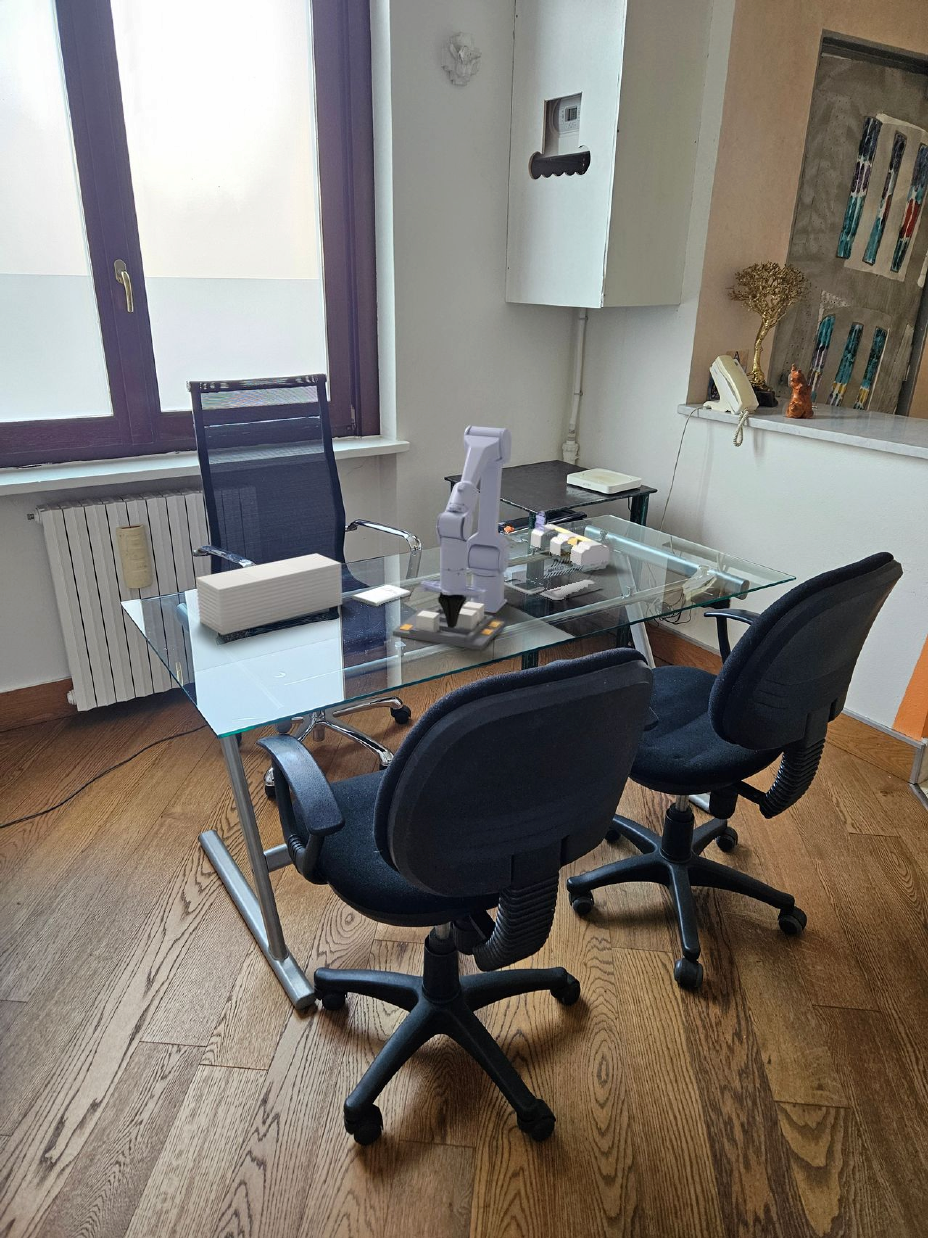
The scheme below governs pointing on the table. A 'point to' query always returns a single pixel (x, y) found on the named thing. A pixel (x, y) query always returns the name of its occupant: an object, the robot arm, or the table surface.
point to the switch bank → (452, 631)
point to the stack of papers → (268, 592)
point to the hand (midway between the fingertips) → (452, 626)
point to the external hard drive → (381, 595)
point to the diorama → (582, 547)
